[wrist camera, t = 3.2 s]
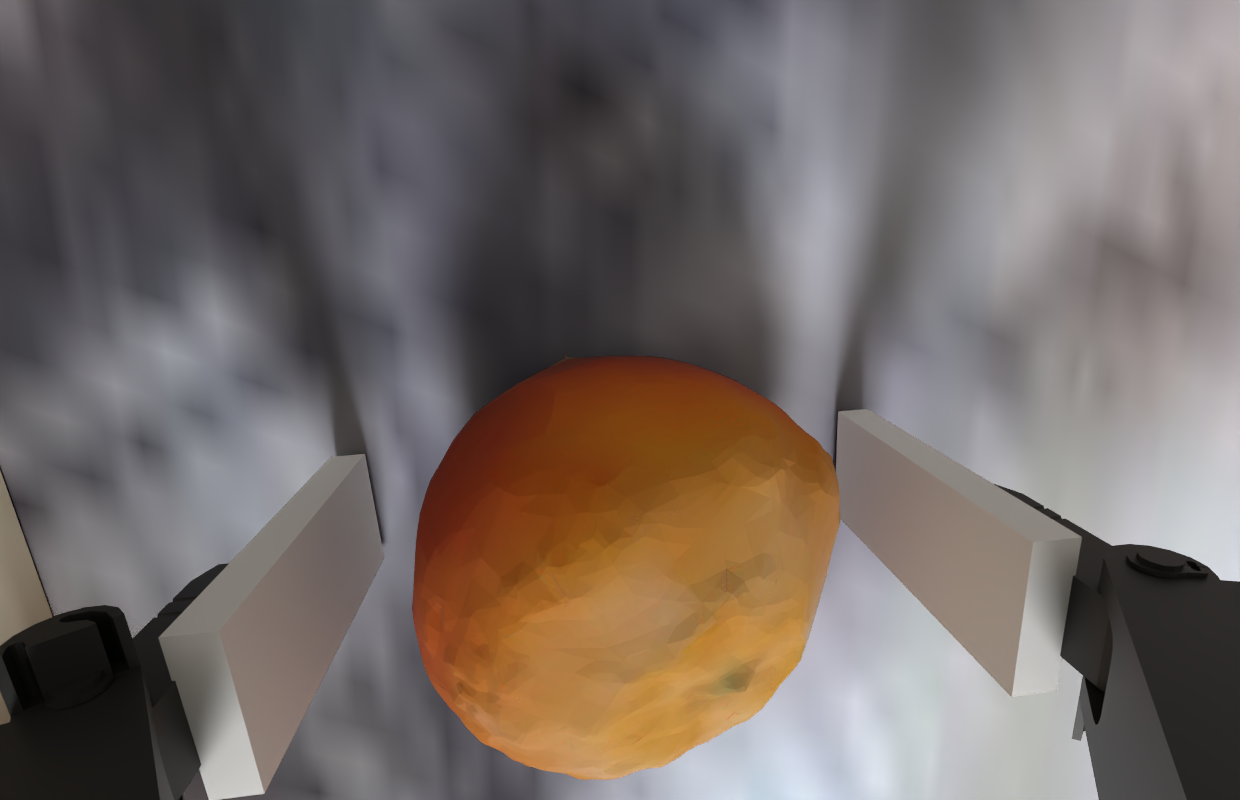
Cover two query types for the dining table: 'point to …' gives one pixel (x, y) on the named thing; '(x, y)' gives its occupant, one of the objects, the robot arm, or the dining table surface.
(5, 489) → the square tray
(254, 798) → the dining table surface
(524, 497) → the fruit
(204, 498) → the dining table surface
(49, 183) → the dining table surface
